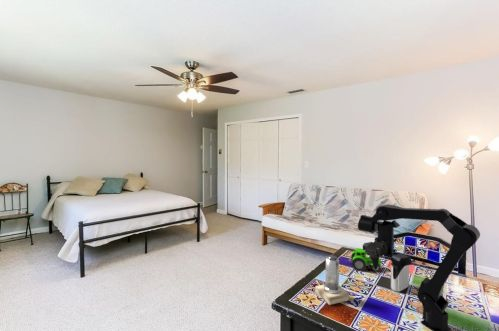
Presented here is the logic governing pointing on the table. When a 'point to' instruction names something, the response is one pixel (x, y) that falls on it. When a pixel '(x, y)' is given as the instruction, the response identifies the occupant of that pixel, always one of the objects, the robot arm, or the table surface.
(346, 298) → the stand
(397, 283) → the photo printer
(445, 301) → the robot arm
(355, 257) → the toy tractor
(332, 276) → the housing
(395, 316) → the table surface
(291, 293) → the table surface
